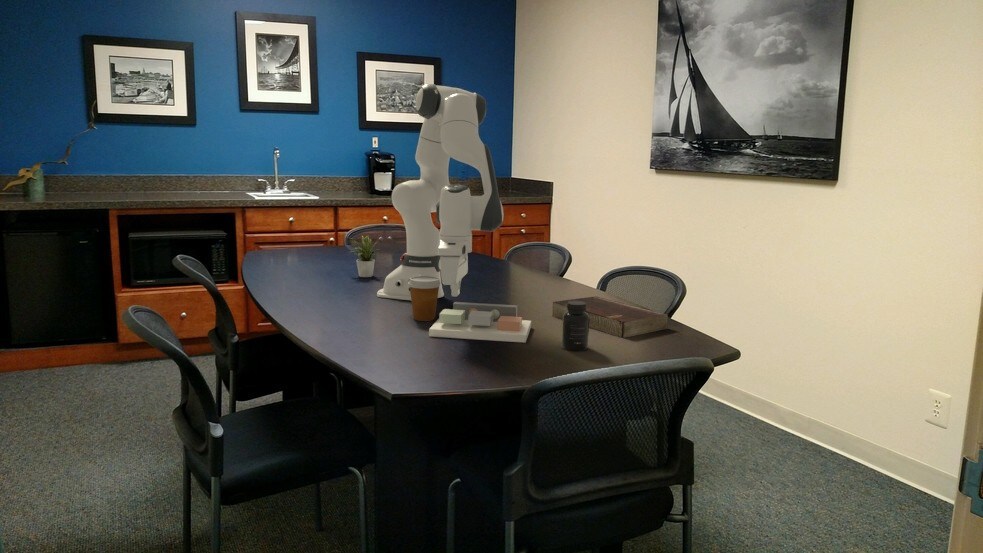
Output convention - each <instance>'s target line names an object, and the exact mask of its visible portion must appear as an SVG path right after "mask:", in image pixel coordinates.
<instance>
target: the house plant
mask: <svg viewBox="0 0 983 553" xmlns="http://www.w3.org/2000/svg"><path fill="white" fill-rule="evenodd" d="M346 238H348V239H349V237H346ZM350 239H352V240H350V242H351V243H353V244H354V245H355V246H356V247H354V250H353V249H352V250H351V251H350V253H352V252H354V256H355V255H357V257H358V259H356V266H357V272H358V277H359V278H371V277H373V274H374V269H375V261H376V259H373V257H374V256H375V255H376V256H377V253H375V251H376V250H381V249H380V248H377V249H374V247H375V246H376V244H377V243H378V242H379V240H378V241H375V242H374V243H373V244H372V238H370V237H369V235H366V236H365V237H364V235H361V246H362V247H361V246H360V244H358V242H357V241H356V240H355V239H353V238H351V237H350ZM355 249H356V250H358V251H359V252H358V251H356V250H355ZM373 249H374V250H373Z"/></svg>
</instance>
